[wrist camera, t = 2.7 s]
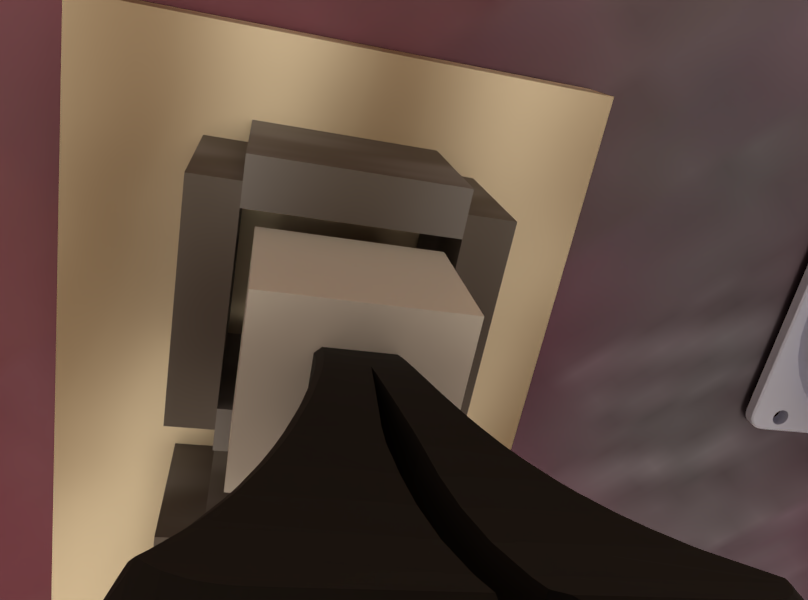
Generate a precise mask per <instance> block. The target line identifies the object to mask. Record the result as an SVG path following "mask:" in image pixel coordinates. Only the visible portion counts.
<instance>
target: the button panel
mask: <svg viewBox="0 0 808 600" xmlns="http://www.w3.org/2000/svg"><path fill="white" fill-rule="evenodd" d="M613 99H614V97H612V96H609V95H606V94H603V93H600V92H597V91H594V90H591V89H588V88H583V87H578V86H572V85H567V84H562V83H557V82H552V81H547V80H542V79H537V78H532V77H527V76H522V75H517V74H512V73H506V72H501V71H496V70H491V69H486V68H481V67H476V66H471V65H466V64H461V63H456V62H451V61H445V60H440V59H435V58H430V57H425V56H420V55H415V54H410V53H405V52H400V51H395V50H390V49H385V48H379V47H374V46H369V45H364V44H359V43H354V42H349V41H344V40H339V39H334V38H329V37H324V36H319V35H313V34H308V33H303V32H298V31H293V30H288V29H283V28H278V27H273V26H268V25H263V24H258V23H252V22H247V21H242V20H237V19H232V18H227V17H222V16H217V15H212V14H207V13H202V12H197V11H192V10H186V9H181V8H176V7H171V6H166V5H161V4H156V3H151V2H146V1H141V0H62V42H61V98H60V154H59V210H58V265H57V321H56V377H55V433H54V488H53V544H52V600H103V599H104V598H105V596H106V595H107V593H108V592H109V590H110V588H111V587H112V585H113V584H114V582H115V581H116V579H117V577H118V576H119V574H120V573H121V571H122V570H123V568H124V567H125V565H126V564H127V562H128V561H129V560H131V559H132V558H134V557H135V556H137V555H139V554H141V553H143V552H145V551H147V550H149V549H151V548H152V547H154V546H156V545H158V544H159V543H161V542H163V541H165V540H166V539H168V538H170V537H172V536H173V535H175V534H177V533H179V532H180V531H182V530H183V529H185V528H186V527H188V526H189V525H191V524H192V523H193V522H195V521H196V520H197V519H198V518H200V517H201V516H202V515H203V514H205V513H206V512H207V511H209V510H210V509H211V508H212V507H214V506H215V505H216V504H218V503H219V502H220V501H221V500H223V499H224V498H225V497H226V496H227V495H229V494H230V493H226V492H224V485H225V476H226V466H227V457H228V448H229V438H230V429H231V420H232V410H233V401H234V392H235V384H236V376H237V368H238V360H239V351H240V343H241V335H242V327H243V319H244V310H245V302H246V294H247V286H248V278H249V269H250V261H251V253H252V245H253V237H254V229H255V226H256V227H264V228H271V229H278V230H286V231H293V232H300V233H308V234H315V235H322V236H330V237H337V238H344V239H352V240H359V241H367V242H374V243H381V244H389V245H396V246H403V247H411V248H418V249H425V250H433V251H440V252H444V253H445V254H446V256H447V257H448V259H449V261H450V262H451V264H452V265H453V267H454V269H455V270H456V272H457V274H458V275H459V277H460V278H461V280H462V282H463V283H464V285H465V286H466V288H467V290H468V291H469V293H470V294H471V296H472V298H473V299H474V301H475V302H476V304H477V306H478V307H479V309H480V310H481V312H482V314H483V315H484V320H483V324H482V328H481V332H480V336H479V340H478V343H477V347H476V351H475V355H474V359H473V363H472V367H471V371H470V375H469V379H468V382H467V386H466V390H465V394H464V398H463V402H462V406H461V411H462V412H463V413H464V414H465V415H467V416H468V417H469V418H470V419H471V420H473V421H474V422H475V423H476V424H477V425H479V426H480V427H481V428H482V429H484V430H485V431H486V432H487V433H489V434H490V435H491V436H493V437H494V438H495V439H496V440H498V441H499V442H500V443H502V444H503V445H504V446H505V447H507V448H508V449H510V450H511V447H512V444H513V441H514V437H515V434H516V430H517V427H518V423H519V420H520V417H521V413H522V410H523V406H524V403H525V399H526V396H527V393H528V389H529V386H530V382H531V379H532V376H533V372H534V369H535V365H536V362H537V358H538V355H539V352H540V348H541V345H542V341H543V338H544V335H545V331H546V328H547V324H548V321H549V317H550V314H551V311H552V307H553V304H554V300H555V297H556V294H557V290H558V287H559V283H560V280H561V276H562V273H563V270H564V266H565V263H566V259H567V256H568V253H569V249H570V246H571V242H572V239H573V235H574V232H575V229H576V225H577V222H578V218H579V215H580V211H581V208H582V205H583V201H584V198H585V194H586V191H587V188H588V184H589V181H590V177H591V174H592V170H593V167H594V164H595V160H596V157H597V153H598V150H599V147H600V143H601V140H602V136H603V133H604V129H605V126H606V123H607V119H608V116H609V112H610V109H611V106H612V102H613Z"/></svg>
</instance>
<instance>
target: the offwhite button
mask: <svg viewBox="0 0 808 600" xmlns="http://www.w3.org/2000/svg"><path fill="white" fill-rule="evenodd" d="M483 320H484V315H483V314H482V312H481V310H480V309H479V307H478V306H477V304H476V302H475V301H474V299H473V298H472V296H471V294H470V293H469V291H468V290H467V288H466V286H465V285H464V283H463V282H462V280H461V278H460V277H459V275H458V274H457V272H456V270H455V269H454V267H453V265H452V264H451V262H450V261H449V259H448V257H447V256H446V254H445V253H444V252H440V251H433V250H425V249H418V248H411V247H403V246H396V245H389V244H381V243H374V242H367V241H359V240H352V239H344V238H337V237H330V236H322V235H315V234H308V233H300V232H293V231H286V230H278V229H271V228H264V227H256V226H255V229H254V237H253V245H252V253H251V261H250V269H249V278H248V286H247V294H246V302H245V310H244V319H243V327H242V335H241V343H240V351H239V360H238V368H237V376H236V384H235V392H234V401H233V410H232V420H231V429H230V438H229V448H228V457H227V466H226V476H225V485H224V492H226V493H231V492H232V491H233V490H234V489H235V488H236V487H237V486H238V485H239V484H240V483H241V482H242V481H243V480H244V479H245V478H246V477H247V476H248V475H249V474H250V473H251V472H252V471H253V470H254V469H255V468H256V467H257V466H258V465H259V463H260V462H261V461H262V460H263V459H264V457H265V456H266V455H267V454H268V453H269V451H270V450H271V449H272V448H273V446H274V445H275V444H276V442H277V441H278V440H279V438H280V437H281V435H282V434H283V433H284V431H285V429H286V428H287V426H288V425H289V423H290V421H291V420H292V418H293V416H294V415H295V413H296V411H297V410H298V408H299V406H300V404H301V402H302V400H303V398H304V396H305V393H306V391H307V389H308V385H309V379H310V373H311V366H312V360H313V354H314V352H316V351H317V350H318V349H320V348H321V347H328V348H338V349H348V350H358V351H368V352H378V353H388V354H397V355H399V356H401V357H402V358H403V359H404V360H406V361H407V362H408V363H409V364H410V365H411V366H413V367H414V368H415V369H416V370H417V371H418V372H419V373H420V374H421V375H422V376H423V377H424V378H426V379H427V380H428V381H429V382H430V383H431V384H432V385H433V386H434V387H435V388H436V389H437V390H438V391H440V392H441V393H442V394H443V395H444V396H445V397H446V398H447V399H448V400H449V401H451V402H452V403H453V404H454V405H455V406H456V407H457V408H458V409H460V410H461V406H462V402H463V398H464V394H465V390H466V386H467V382H468V379H469V375H470V371H471V367H472V363H473V359H474V355H475V351H476V347H477V343H478V340H479V336H480V332H481V328H482V324H483Z"/></svg>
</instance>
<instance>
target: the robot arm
mask: <svg viewBox="0 0 808 600" xmlns="http://www.w3.org/2000/svg"><path fill="white" fill-rule="evenodd" d="M779 411H780V412H779ZM777 412H779V413H778V415H777V416H775V417H774V415H775V414H776V413H777ZM745 415H746V419H747V420H748V421H749V422H750V423H751V424H752V425H753V426H754V427H756V428H759V429H767V430H778V431H789V432H801V433H808V265H807V268H806V270H805V272H804V275H803V277H802V280H801V282H800V284H799V287H798V289H797V291H796V294H795V296H794V298H793V301H792V303H791V305H790V308H789V310H788V313H787V315H786V317H785V320H784V322H783V324H782V327H781V329H780V331H779V334H778V336H777V339H776V341H775V343H774V346H773V348H772V350H771V353H770V355H769V357H768V360H767V362H766V364H765V367H764V369H763V372H762V374H761V376H760V379H759V381H758V383H757V386H756V388H755V390H754V393H753V395H752V397H751V400H750V402H749V405H748V407H747V409H746V414H745ZM103 600H804V599H803V598H802V597H801V596H800V595H799V593H798V592H797V591H796V590H795V589H794V587H793V586H792V585H791V584H790V583H789V582H788V580H786V579H785V578H783V577H780V576H777V575H774V574H771V573H768V572H765V571H762V570H759V569H756V568H753V567H750V566H747V565H744V564H742V563H739V562H736V561H733V560H730V559H727V558H724V557H721V556H718V555H715V554H712V553H709V552H706V551H703V550H701V549H698V548H696V547H693V546H690V545H688V544H686V543H683V542H681V541H678V540H676V539H674V538H671V537H669V536H666V535H664V534H662V533H659V532H657V531H654V530H652V529H650V528H647V527H645V526H643V525H641V524H639V523H637V522H634V521H632V520H630V519H628V518H626V517H624V516H621V515H619V514H617V513H615V512H613V511H611V510H610V509H608V508H606V507H604V506H602V505H600V504H598V503H596V502H594V501H592V500H590V499H589V498H587V497H585V496H583V495H581V494H579V493H577V492H575V491H574V490H572V489H570V488H568V487H567V486H565V485H563V484H561V483H560V482H558V481H556V480H555V479H553V478H552V477H550V476H549V475H547V474H545V473H544V472H542V471H541V470H539V469H538V468H536V467H535V466H533V465H531V464H530V463H528V462H527V461H525V460H524V459H522V458H521V457H519V456H518V455H517V454H515V453H514V452H512V451H511V450H510V449H508V448H507V447H505V446H504V445H503V444H502V443H500V442H499V441H498V440H496V439H495V438H494V437H493V436H491V435H490V434H489V433H487V432H486V431H485V430H484V429H482V428H481V427H480V426H479V425H477V424H476V423H475V422H474V421H473V420H471V419H470V418H469V417H468V416H467V415H465V414H464V413H463V412H462V411H461V410H460V409H458V408H457V407H456V406H455V405H454V404H453V403H452V402H451V401H449V400H448V399H447V398H446V397H445V396H444V395H443V394H442V393H441V392H440V391H438V390H437V389H436V388H435V387H434V386H433V385H432V384H431V383H430V382H429V381H428V380H427V379H426V378H424V377H423V376H422V375H421V374H420V373H419V372H418V371H417V370H416V369H415V368H414V367H413V366H411V365H410V364H409V363H408V362H407V361H406V360H404V359H403V358H402V357H401V356H399V355H397V354H388V353H378V352H368V351H358V350H348V349H338V348H328V347H321V348H320V349H318V350H317V351H316V352H314V354H313V360H312V366H311V373H310V379H309V385H308V389H307V391H306V393H305V396H304V398H303V400H302V402H301V404H300V406H299V408H298V410H297V411H296V413H295V415H294V416H293V418H292V420H291V421H290V423H289V425H288V426H287V428H286V429H285V431H284V433H283V434H282V435H281V437H280V438H279V440H278V441H277V442H276V444H275V445H274V446H273V448H272V449H271V450H270V451H269V453H268V454H267V455H266V456H265V457H264V459H263V460H262V461H261V462H260V463H259V465H258V466H257V467H256V468H255V469H254V470H253V471H252V472H251V473H250V474H249V475H248V476H247V477H246V478H245V479H244V480H243V481H242V482H241V483H240V484H239V485H238V486H237V487H236V488H235V489H234V490H233V491H232V492H231V493H230V494H229V495H227V496H226V497H225V498H224V499H223V500H221V501H220V502H219V503H218V504H216V505H215V506H214V507H212V508H211V509H210V510H209V511H207V512H206V513H205V514H203V515H202V516H201V517H200V518H198V519H197V520H196V521H195V522H193V523H192V524H191V525H189V526H188V527H186V528H185V529H183V530H182V531H180V532H179V533H177V534H175V535H173V536H172V537H170V538H168V539H166V540H165V541H163V542H161V543H159V544H158V545H156V546H154V547H152V548H151V549H149V550H147V551H145V552H143V553H141V554H139V555H137V556H135V557H134V558H132V559H131V560H129V561H128V562H127V564H126V565H125V567H124V568H123V570H122V571H121V573H120V574H119V576H118V577H117V579H116V581H115V582H114V584H113V585H112V587H111V588H110V590H109V592H108V593H107V595H106V596H105V598H104V599H103Z"/></svg>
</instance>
